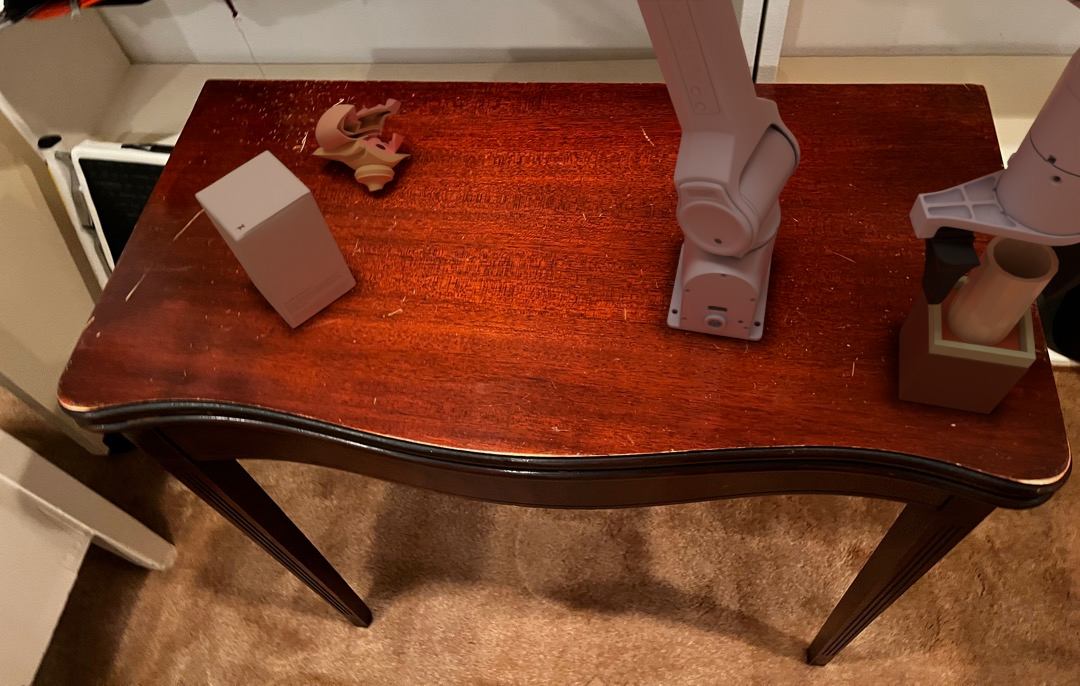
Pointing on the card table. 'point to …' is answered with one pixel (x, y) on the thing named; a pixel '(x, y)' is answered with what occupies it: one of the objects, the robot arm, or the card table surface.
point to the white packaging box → (278, 237)
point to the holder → (958, 360)
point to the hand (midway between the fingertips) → (986, 290)
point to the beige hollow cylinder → (1000, 290)
